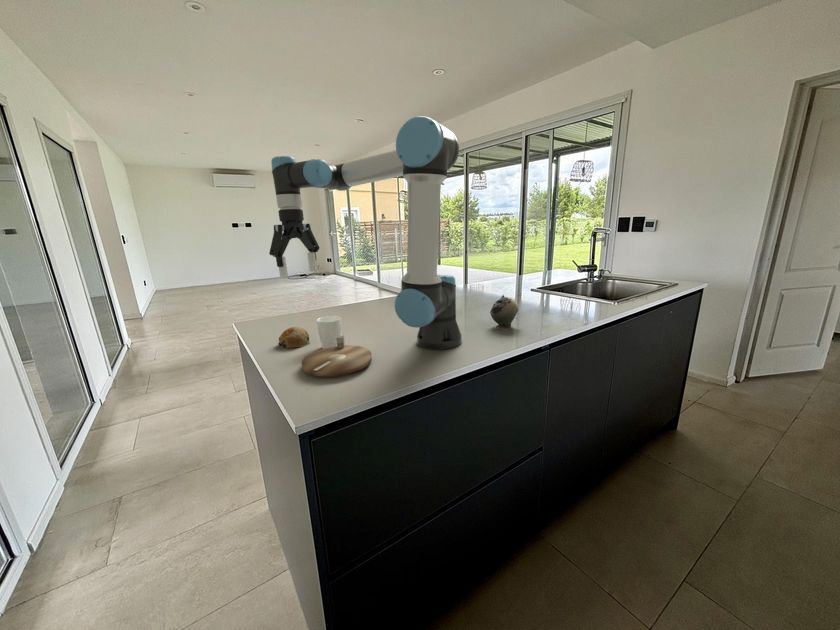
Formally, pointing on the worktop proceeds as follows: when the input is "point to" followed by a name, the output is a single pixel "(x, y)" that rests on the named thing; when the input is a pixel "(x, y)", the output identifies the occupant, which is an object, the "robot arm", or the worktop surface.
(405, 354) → the worktop surface
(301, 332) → the bread roll
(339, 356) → the turntable
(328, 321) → the white cup
